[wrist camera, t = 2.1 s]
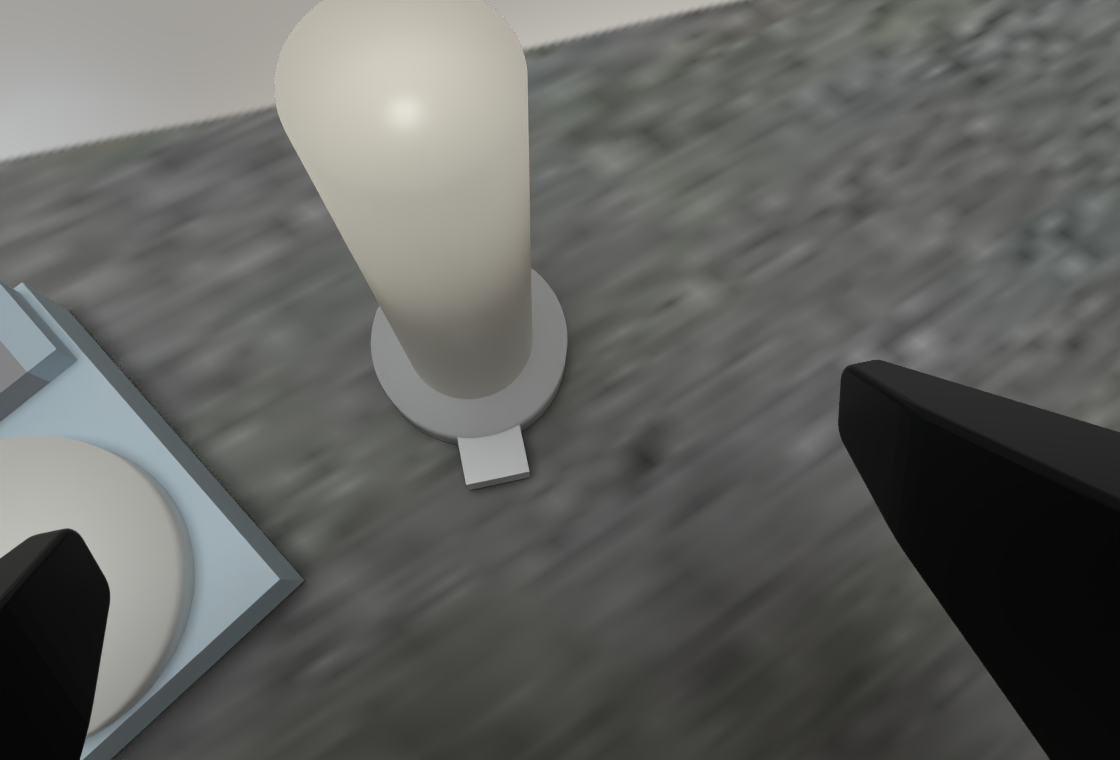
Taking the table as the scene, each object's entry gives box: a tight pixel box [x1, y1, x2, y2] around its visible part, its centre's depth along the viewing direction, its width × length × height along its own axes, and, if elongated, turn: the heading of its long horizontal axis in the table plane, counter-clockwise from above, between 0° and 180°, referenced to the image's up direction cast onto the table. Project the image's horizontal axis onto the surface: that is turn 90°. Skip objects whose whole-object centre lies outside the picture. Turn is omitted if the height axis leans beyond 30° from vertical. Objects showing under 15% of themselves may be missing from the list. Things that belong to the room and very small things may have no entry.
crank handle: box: [274, 0, 567, 490], centre depth 16 cm, size 6×5×12 cm
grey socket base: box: [0, 282, 305, 760], centre depth 19 cm, size 10×8×3 cm
